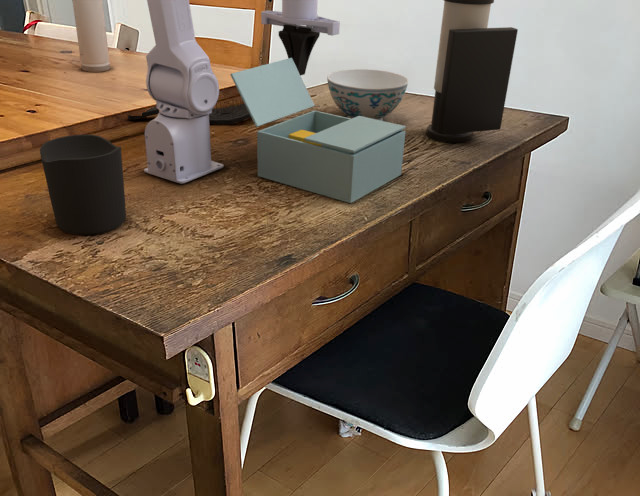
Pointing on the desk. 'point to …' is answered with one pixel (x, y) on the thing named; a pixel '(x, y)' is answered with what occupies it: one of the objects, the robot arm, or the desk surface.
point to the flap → (272, 91)
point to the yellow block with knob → (302, 136)
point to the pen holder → (85, 183)
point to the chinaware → (366, 92)
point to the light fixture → (470, 72)
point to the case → (332, 154)
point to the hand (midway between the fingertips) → (298, 74)
